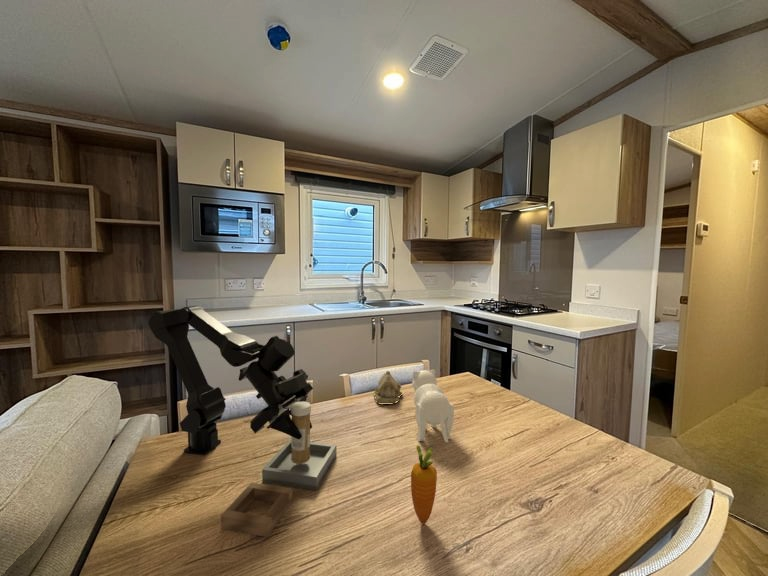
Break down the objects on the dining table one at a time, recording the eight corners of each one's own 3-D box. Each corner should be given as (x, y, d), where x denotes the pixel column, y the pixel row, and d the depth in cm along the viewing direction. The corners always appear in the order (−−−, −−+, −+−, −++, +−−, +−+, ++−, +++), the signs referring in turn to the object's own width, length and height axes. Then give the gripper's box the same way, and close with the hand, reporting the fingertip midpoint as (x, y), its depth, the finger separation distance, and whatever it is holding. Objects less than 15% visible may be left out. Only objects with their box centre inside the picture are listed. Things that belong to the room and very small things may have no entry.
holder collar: (221, 528, 60) (220, 515, 60) (251, 493, 69) (251, 482, 69) (267, 537, 58) (267, 524, 58) (292, 499, 67) (292, 488, 67)
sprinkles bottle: (314, 457, 78) (314, 403, 78) (300, 467, 74) (301, 410, 74) (300, 452, 81) (300, 399, 80) (286, 461, 77) (287, 405, 76)
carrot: (408, 514, 64) (409, 441, 63) (432, 513, 64) (434, 440, 63) (412, 535, 59) (413, 456, 58) (439, 533, 59) (440, 455, 58)
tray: (262, 482, 73) (262, 469, 73) (289, 450, 85) (289, 439, 85) (316, 490, 70) (316, 477, 70) (336, 456, 83) (336, 444, 83)
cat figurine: (467, 456, 84) (468, 393, 82) (428, 460, 81) (429, 396, 80) (433, 413, 108) (434, 364, 107) (403, 416, 106) (403, 366, 105)
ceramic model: (373, 390, 128) (374, 365, 127) (402, 390, 128) (402, 366, 127) (372, 405, 114) (372, 378, 113) (404, 406, 114) (404, 378, 113)
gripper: (261, 374, 68) (306, 433, 66) (306, 352, 86) (344, 398, 84) (231, 405, 71) (274, 462, 69) (281, 377, 89) (316, 422, 87)
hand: (305, 433), depth 77 cm, fingers closed on sprinkles bottle, 4 cm apart
